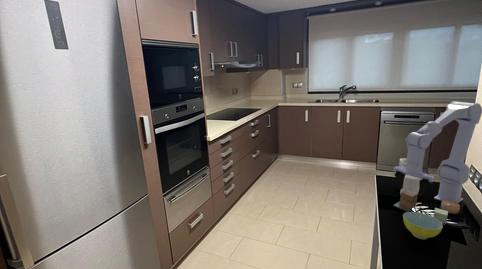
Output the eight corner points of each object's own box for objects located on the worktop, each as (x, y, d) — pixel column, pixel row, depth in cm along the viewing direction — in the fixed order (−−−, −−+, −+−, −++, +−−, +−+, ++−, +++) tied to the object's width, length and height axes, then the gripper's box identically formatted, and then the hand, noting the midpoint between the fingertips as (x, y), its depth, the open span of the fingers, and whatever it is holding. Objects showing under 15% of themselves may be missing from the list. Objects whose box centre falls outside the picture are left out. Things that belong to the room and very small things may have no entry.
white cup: (400, 197, 120) (403, 177, 117) (397, 190, 127) (400, 171, 125) (420, 200, 117) (423, 180, 115) (416, 193, 124) (419, 173, 122)
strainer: (413, 185, 132) (417, 157, 129) (411, 190, 127) (416, 161, 123) (397, 182, 136) (401, 155, 133) (395, 186, 131) (399, 158, 128)
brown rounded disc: (443, 205, 113) (445, 199, 112) (460, 211, 108) (462, 204, 108) (438, 209, 110) (439, 202, 109) (455, 215, 105) (457, 208, 104)
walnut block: (404, 202, 114) (406, 189, 113) (415, 206, 111) (417, 193, 109) (399, 205, 112) (401, 192, 110) (410, 209, 108) (412, 196, 107)
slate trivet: (402, 200, 117) (402, 199, 117) (422, 208, 110) (422, 207, 110) (393, 205, 112) (393, 204, 112) (413, 213, 106) (413, 212, 106)
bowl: (434, 230, 95) (437, 215, 93) (443, 249, 84) (447, 232, 83) (399, 223, 99) (401, 208, 98) (403, 240, 89) (405, 224, 88)
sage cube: (433, 216, 104) (435, 207, 103) (446, 220, 101) (448, 211, 100) (432, 221, 101) (434, 211, 100) (445, 224, 98) (447, 215, 97)
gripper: (391, 158, 110) (387, 188, 113) (430, 168, 99) (425, 201, 102) (399, 155, 114) (395, 184, 117) (438, 165, 102) (433, 196, 106)
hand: (410, 192), depth 110 cm, fingers open, 7 cm apart
